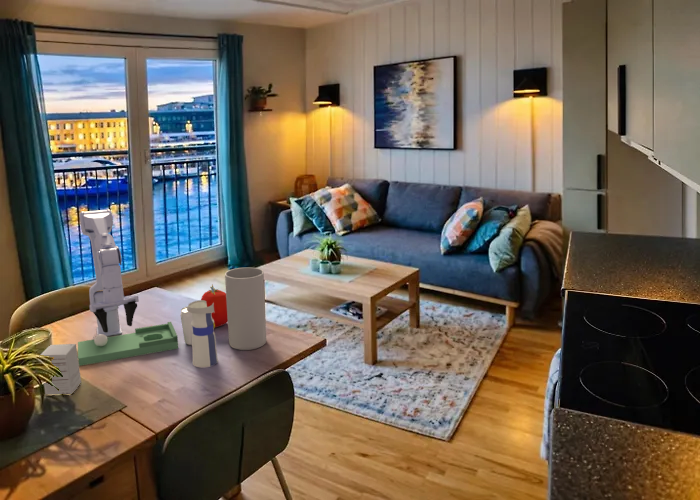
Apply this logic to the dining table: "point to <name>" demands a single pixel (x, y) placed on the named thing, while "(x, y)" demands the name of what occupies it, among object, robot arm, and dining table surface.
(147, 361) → the dining table surface
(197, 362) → the water bottle
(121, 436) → the dining table surface
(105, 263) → the robot arm
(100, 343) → the ball
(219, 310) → the tomato
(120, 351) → the green mini golf board
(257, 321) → the cylinder vase
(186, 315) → the can
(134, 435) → the dining table surface
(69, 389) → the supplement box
